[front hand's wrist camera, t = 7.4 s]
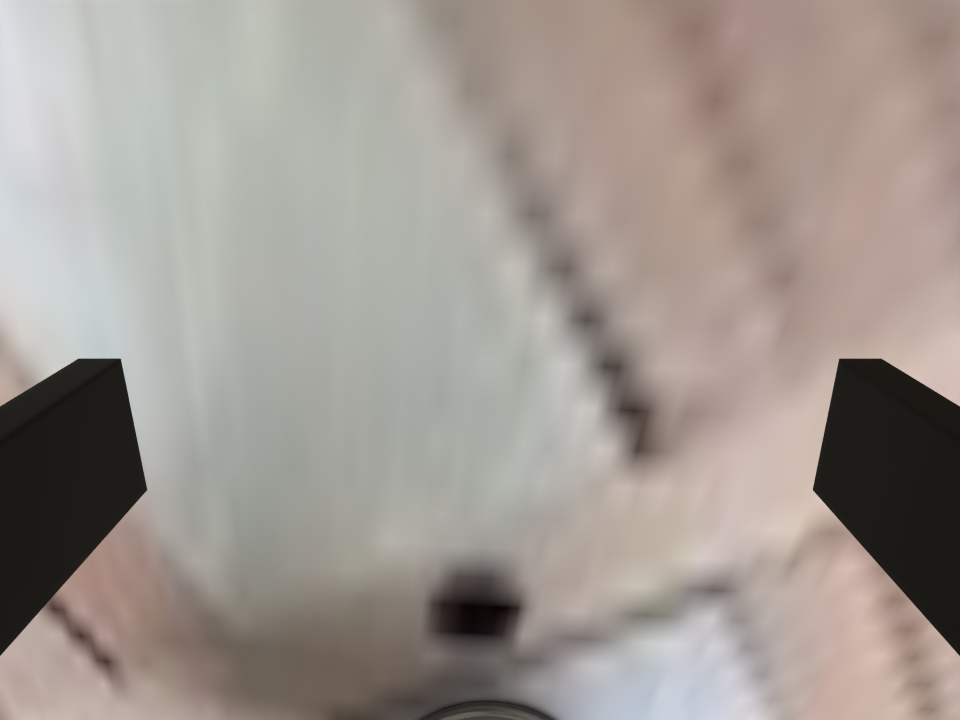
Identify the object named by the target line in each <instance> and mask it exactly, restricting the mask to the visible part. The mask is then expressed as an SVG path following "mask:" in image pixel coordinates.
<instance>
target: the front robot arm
mask: <svg viewBox="0 0 960 720" xmlns="http://www.w3.org/2000/svg"><path fill="white" fill-rule="evenodd" d="M146 491H147V487H146V482H145V477H144V472H143V467H142V462H141V457H140V452H139V447H138V442H137V437H136V432H135V427H134V422H133V417H132V412H131V407H130V402H129V398H128V393H127V388H126V383H125V378H124V373H123V368H122V363H121V359H77V360H76V361H74V362H73V363H71V364H69V365H68V366H66V367H64V368H63V369H61V370H59V371H58V372H56V373H54V374H53V375H51V376H50V377H48V378H46V379H45V380H43V381H41V382H40V383H38V384H36V385H35V386H33V387H32V388H30V389H28V390H27V391H25V392H23V393H22V394H20V395H18V396H17V397H15V398H13V399H12V400H10V401H9V402H7V403H5V404H4V405H2V406H0V655H1V654H2V653H3V652H4V651H5V650H6V649H7V648H8V646H9V645H10V644H11V643H12V642H13V641H14V640H15V639H16V637H17V636H18V635H19V634H20V633H21V632H22V631H23V629H24V628H25V627H26V626H27V625H28V624H29V623H30V622H31V620H32V619H33V618H34V617H35V616H36V615H37V614H38V613H39V611H40V610H41V609H42V608H43V607H44V606H45V605H46V604H47V602H48V601H49V600H50V599H51V598H52V597H53V596H54V594H55V593H56V592H57V591H58V590H59V589H60V588H61V587H62V585H63V584H64V583H65V582H66V581H67V580H68V579H69V578H70V576H71V575H72V574H73V573H74V572H75V571H76V570H77V569H78V567H79V566H80V565H81V564H82V563H83V562H84V561H85V559H86V558H87V557H88V556H89V555H90V554H91V553H92V552H93V550H94V549H95V548H96V547H97V546H98V545H99V544H100V543H101V541H102V540H103V539H104V538H105V537H106V536H107V535H108V534H109V532H110V531H111V530H112V529H113V528H114V527H115V526H116V524H117V523H118V522H119V521H120V520H121V519H122V518H123V517H124V515H125V514H126V513H127V512H128V511H129V510H130V509H131V508H132V506H133V505H134V504H135V503H136V502H137V501H138V500H139V499H140V497H141V496H142V495H143V494H144V493H145V492H146ZM813 491H814V492H815V493H816V494H817V495H818V496H819V497H820V499H821V500H822V501H823V502H824V503H825V504H826V505H827V506H828V508H829V509H830V510H831V511H832V512H833V513H834V514H835V515H836V517H837V518H838V519H839V520H840V521H841V522H842V523H843V524H844V526H845V527H846V528H847V529H848V530H849V531H850V532H851V534H852V535H853V536H854V537H855V538H856V539H857V540H858V541H859V543H860V544H861V545H862V546H863V547H864V548H865V549H866V550H867V552H868V553H869V554H870V555H871V556H872V557H873V558H874V559H875V561H876V562H877V563H878V564H879V565H880V566H881V567H882V569H883V570H884V571H885V572H886V573H887V574H888V575H889V576H890V578H891V579H892V580H893V581H894V582H895V583H896V584H897V585H898V587H899V588H900V589H901V590H902V591H903V592H904V593H905V594H906V596H907V597H908V598H909V599H910V600H911V601H912V602H913V604H914V605H915V606H916V607H917V608H918V609H919V610H920V611H921V613H922V614H923V615H924V616H925V617H926V618H927V619H928V620H929V622H930V623H931V624H932V625H933V626H934V627H935V628H936V629H937V631H938V632H939V633H940V634H941V635H942V636H943V637H944V639H945V640H946V641H947V642H948V643H949V644H950V645H951V646H952V648H953V649H954V650H955V651H956V652H957V653H958V654H959V655H960V406H958V405H956V404H955V403H953V402H951V401H950V400H948V399H947V398H945V397H943V396H942V395H940V394H938V393H937V392H935V391H933V390H932V389H930V388H928V387H927V386H925V385H924V384H922V383H920V382H919V381H917V380H915V379H914V378H912V377H910V376H909V375H907V374H906V373H904V372H902V371H901V370H899V369H897V368H896V367H894V366H892V365H891V364H889V363H887V362H886V361H884V360H883V359H839V363H838V368H837V373H836V378H835V383H834V388H833V393H832V398H831V402H830V407H829V412H828V417H827V422H826V427H825V432H824V437H823V442H822V447H821V452H820V457H819V462H818V467H817V472H816V477H815V482H814V487H813ZM422 720H550V719H549V718H547V717H545V716H544V715H542V714H540V713H537V712H535V711H533V710H530V709H527V708H524V707H520V706H517V705H512V704H507V703H498V702H475V703H466V704H461V705H456V706H452V707H449V708H446V709H443V710H440V711H438V712H435V713H433V714H431V715H429V716H427V717H426V718H424V719H422Z"/></svg>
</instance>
